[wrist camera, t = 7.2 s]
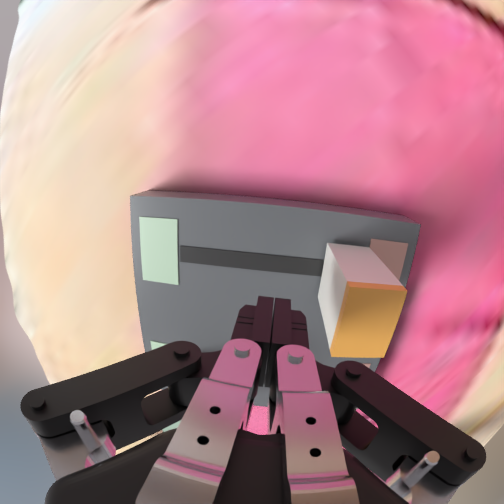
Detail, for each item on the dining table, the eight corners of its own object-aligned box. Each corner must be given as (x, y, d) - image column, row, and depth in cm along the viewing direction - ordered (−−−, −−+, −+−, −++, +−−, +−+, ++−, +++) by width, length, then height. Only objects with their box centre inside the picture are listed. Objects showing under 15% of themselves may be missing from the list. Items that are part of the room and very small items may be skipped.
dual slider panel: (404, 215, 20) (421, 224, 17) (352, 389, 26) (357, 409, 24) (147, 190, 22) (129, 195, 19) (161, 368, 28) (152, 387, 25)
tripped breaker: (369, 247, 18) (407, 291, 12) (357, 299, 19) (383, 357, 13) (327, 242, 18) (349, 286, 12) (317, 296, 19) (331, 356, 13)
